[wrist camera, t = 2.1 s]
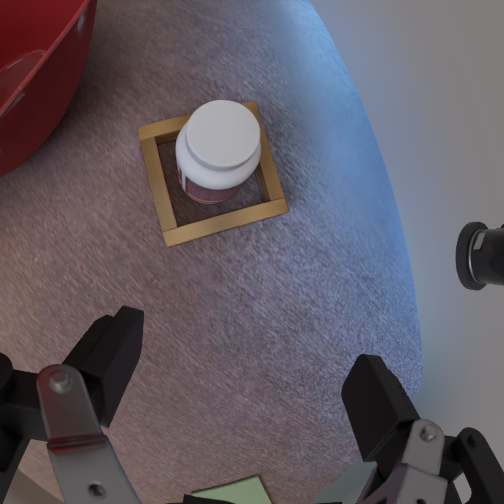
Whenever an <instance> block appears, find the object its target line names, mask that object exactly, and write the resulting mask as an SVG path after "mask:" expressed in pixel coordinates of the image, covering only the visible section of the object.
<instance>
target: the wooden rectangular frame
mask: <svg viewBox="0 0 504 504" xmlns="http://www.w3.org/2000/svg"><path fill="white" fill-rule="evenodd" d="M241 105H243V106H245V107H246V108H247V109H248V110H250V111H251V112H252V114H253V115H254V116H255V118H256V119H257V121H258V124H259V127H260V144H261V155H260V159H259V162H258V165H257V167H256V169H255V170H254V172H255V175H256V178H257V182H258V185H259V188H260V192H261V195H262V199H263V202H264V203H262V204H258V205H254V206H250V207H247V208H243V209H239V210H236V211H232V212H229V213H225V214H222V215H218V216H214V217H211V218H208V219H204V220H201V221H197V222H194V223H190V224H187V225H184V226H180V227H178V226H177V222H176V218H175V215H174V211H173V207H172V204H171V200H170V196H169V192H168V189H167V185H166V181H165V177H164V173H163V169H162V165H161V161H160V157H159V152H158V148H157V145H159V144H162V143H166V142H169V141H173V140H177V137H178V135H179V133H180V131H181V129H182V127H183V126H184V125H185V123H186V122H187V121H188V120H189V119H190V117H191V116H192V114H193V113H191V114H187V115H182V116H178V117H174V118H170V119H167V120H163V121H159V122H155V123H152V124H148V125H145V126H141V127H138V128H137V130H138V135H139V139H140V144H141V149H142V153H143V158H144V162H145V167H146V171H147V175H148V179H149V183H150V188H151V192H152V196H153V199H154V203H155V207H156V211H157V215H158V218H159V222H160V226H161V229H162V232H163V236H164V240H165V243H166V247H172V246H175V245H178V244H182V243H185V242H188V241H192V240H195V239H198V238H202V237H205V236H208V235H212V234H215V233H219V232H222V231H225V230H229V229H232V228H236V227H239V226H243V225H246V224H250V223H253V222H257V221H260V220H264V219H267V218H271V217H274V216H278V215H281V214H285V213H288V212H289V210H288V206H287V203H286V200H285V198H284V197H285V196H284V193H283V190H282V186H281V183H280V180H279V176H278V173H277V170H276V167H275V163H274V160H273V157H272V154H271V151H270V147H269V144H268V141H267V138H266V135H265V132H264V129H263V126H262V123H261V120H260V117H259V114H258V111H257V108H256V105H255V102H254V101H253V102H247V103H241Z"/></svg>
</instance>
